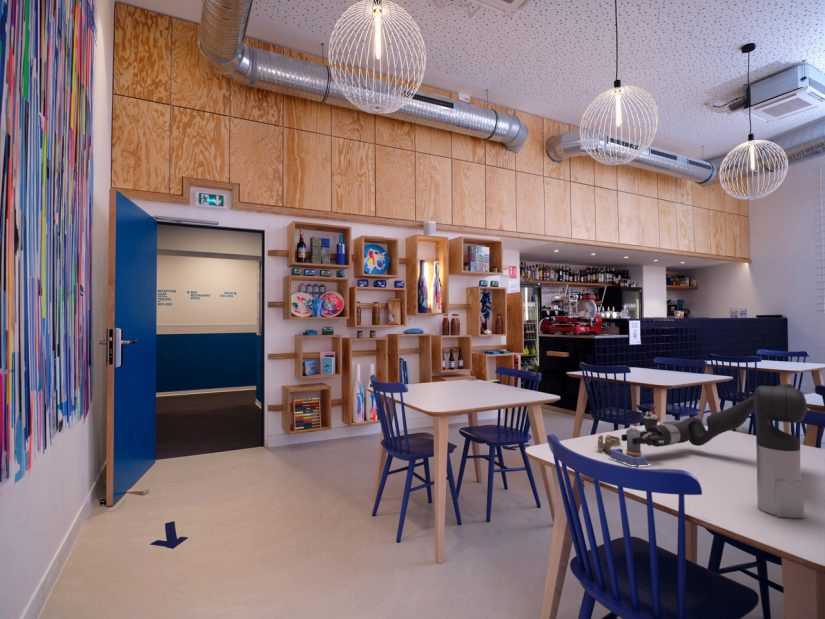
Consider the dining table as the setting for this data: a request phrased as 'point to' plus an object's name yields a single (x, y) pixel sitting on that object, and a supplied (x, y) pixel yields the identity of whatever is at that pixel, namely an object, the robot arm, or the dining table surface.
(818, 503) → the dining table surface
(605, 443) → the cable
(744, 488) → the dining table surface
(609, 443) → the clip
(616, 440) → the tan wooden end block
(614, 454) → the holder
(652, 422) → the sundae
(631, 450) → the grey piece
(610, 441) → the clip
